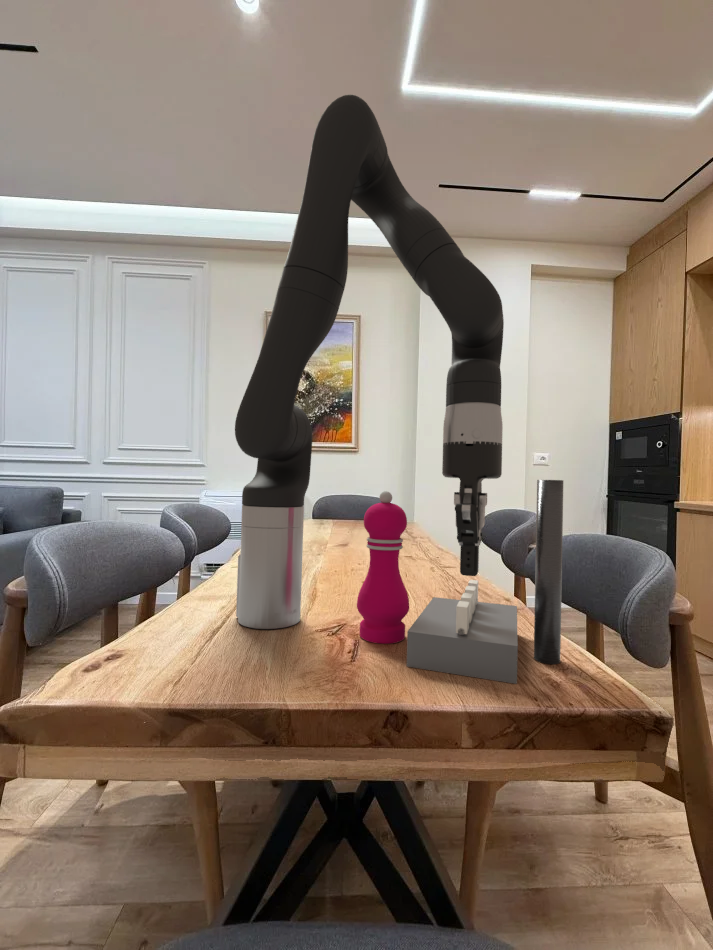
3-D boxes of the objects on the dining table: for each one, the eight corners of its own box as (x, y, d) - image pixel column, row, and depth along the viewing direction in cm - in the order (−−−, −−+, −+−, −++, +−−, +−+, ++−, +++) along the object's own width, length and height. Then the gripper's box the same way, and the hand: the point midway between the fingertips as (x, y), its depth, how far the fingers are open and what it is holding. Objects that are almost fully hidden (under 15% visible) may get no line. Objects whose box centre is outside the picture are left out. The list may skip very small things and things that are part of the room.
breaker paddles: (455, 634, 52) (456, 606, 52) (469, 601, 67) (469, 579, 67) (466, 636, 51) (467, 607, 52) (477, 602, 67) (478, 580, 67)
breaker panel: (406, 666, 53) (407, 631, 53) (432, 623, 70) (433, 597, 70) (516, 683, 49) (517, 646, 49) (516, 633, 66) (516, 606, 66)
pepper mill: (405, 647, 59) (409, 492, 59) (351, 642, 60) (355, 490, 61) (410, 630, 66) (414, 491, 66) (361, 626, 67) (365, 490, 68)
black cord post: (529, 658, 56) (532, 479, 57) (540, 653, 58) (543, 480, 59) (554, 666, 54) (557, 479, 55) (564, 660, 56) (567, 480, 57)
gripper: (449, 446, 67) (447, 564, 67) (435, 436, 55) (431, 581, 54) (503, 446, 65) (500, 569, 65) (500, 435, 52) (497, 588, 52)
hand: (469, 574), depth 59 cm, fingers closed
